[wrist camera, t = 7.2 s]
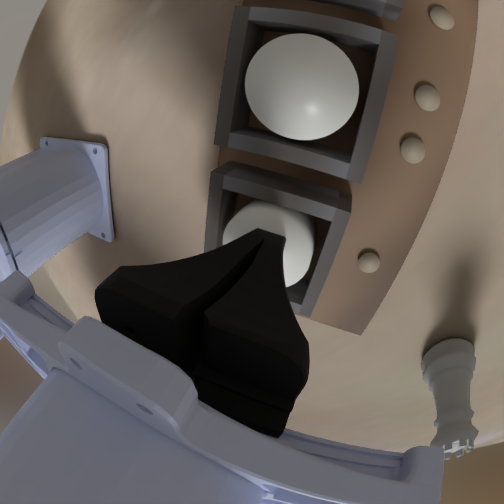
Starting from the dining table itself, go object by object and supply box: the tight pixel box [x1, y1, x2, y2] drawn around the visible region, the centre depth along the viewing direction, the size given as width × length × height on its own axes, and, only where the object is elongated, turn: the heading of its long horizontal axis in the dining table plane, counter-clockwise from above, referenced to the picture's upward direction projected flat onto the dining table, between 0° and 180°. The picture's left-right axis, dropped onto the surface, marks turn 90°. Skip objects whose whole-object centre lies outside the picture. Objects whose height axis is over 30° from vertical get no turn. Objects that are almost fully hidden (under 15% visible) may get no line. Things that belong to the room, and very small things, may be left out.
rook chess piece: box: [421, 338, 479, 460], centre depth 13 cm, size 4×4×8 cm
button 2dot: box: [245, 34, 359, 140], centre depth 9 cm, size 4×4×2 cm
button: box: [223, 198, 317, 287], centre depth 13 cm, size 4×4×2 cm
